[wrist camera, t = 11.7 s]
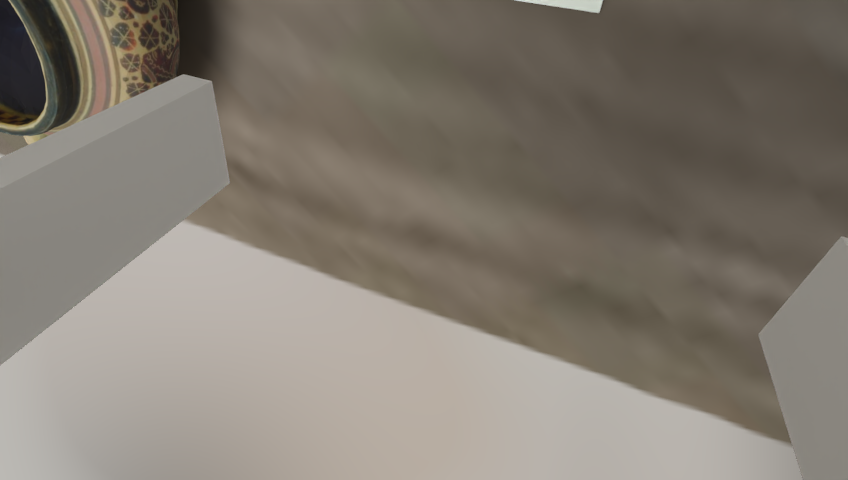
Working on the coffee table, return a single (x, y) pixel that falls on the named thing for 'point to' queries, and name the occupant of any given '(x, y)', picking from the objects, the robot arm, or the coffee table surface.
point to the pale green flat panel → (571, 4)
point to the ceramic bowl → (80, 59)
